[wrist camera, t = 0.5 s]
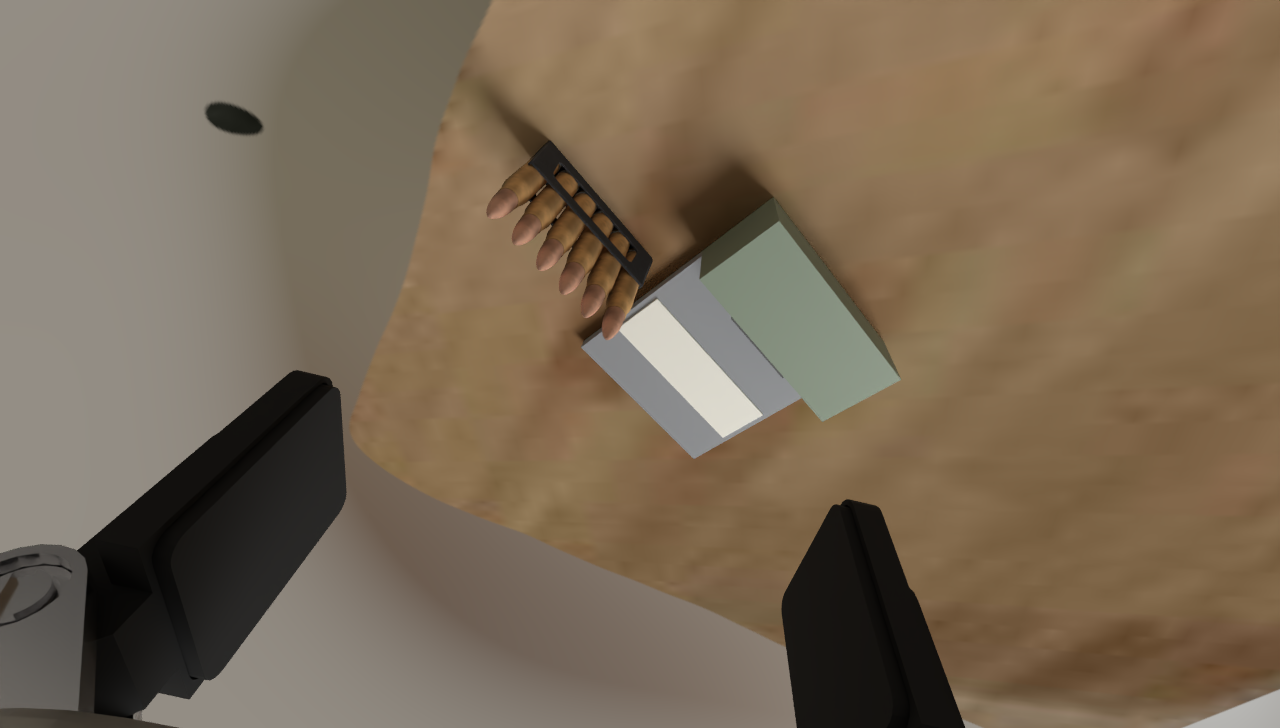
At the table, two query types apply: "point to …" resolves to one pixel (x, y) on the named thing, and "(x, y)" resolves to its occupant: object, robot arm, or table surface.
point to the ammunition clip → (575, 234)
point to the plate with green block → (744, 337)
